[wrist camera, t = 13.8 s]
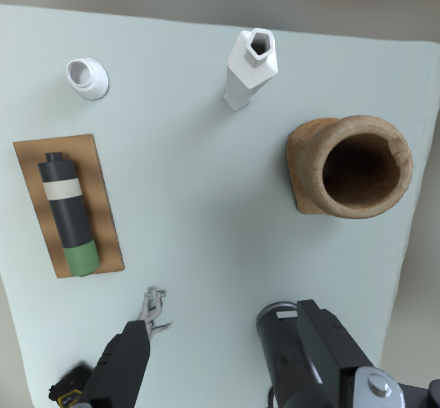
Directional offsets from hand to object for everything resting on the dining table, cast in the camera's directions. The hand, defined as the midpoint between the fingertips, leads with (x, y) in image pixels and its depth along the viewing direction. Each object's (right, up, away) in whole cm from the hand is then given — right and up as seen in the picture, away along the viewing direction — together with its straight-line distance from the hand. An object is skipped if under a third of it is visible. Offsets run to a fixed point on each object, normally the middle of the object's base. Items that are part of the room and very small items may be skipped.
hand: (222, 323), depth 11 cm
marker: (-23, +5, +22) cm, 32 cm away
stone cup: (+14, +11, +23) cm, 29 cm away
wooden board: (-23, +5, +22) cm, 33 cm away
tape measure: (-28, -28, +30) cm, 49 cm away
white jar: (-18, +23, +18) cm, 35 cm away
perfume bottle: (+2, +22, +20) cm, 30 cm away
